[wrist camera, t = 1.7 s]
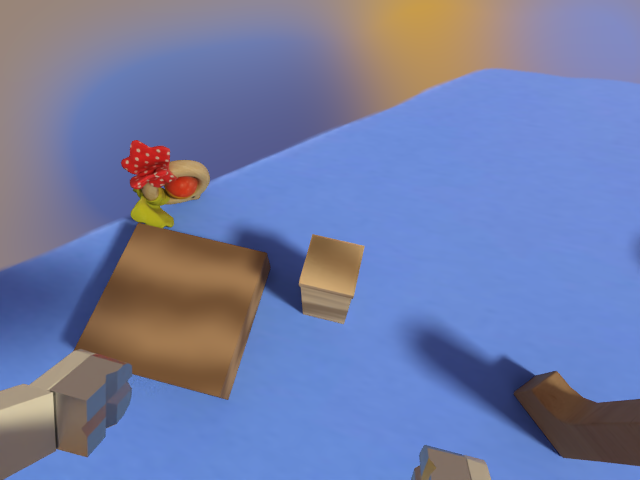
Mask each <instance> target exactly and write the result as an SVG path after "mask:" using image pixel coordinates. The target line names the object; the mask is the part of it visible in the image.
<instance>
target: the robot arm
mask: <svg viewBox="0 0 640 480" xmlns="http://www.w3.org/2000/svg"><path fill="white" fill-rule="evenodd" d="M131 376H132V365H130V364H129V363H126V362H123V361H120V360H117V359H113V358H110V357H107V356H103V355H100V354H95V353H92V352H89V351H86V350H83V349H79V350H75V351H73V352H72V353H71V354H69V355H68V356H67V357H65V358H64V359H63V360H61V361H60V362H59V363H57V364H56V365H55V366H54V367H52V368H51V369H50V370H48V371H47V372H46V373H44V374H43V375H42V376H40V377H39V378H38V379H36V380H35V381H34V382H33V383H31V384H30V385H26V384H22V385H18V386H15V387H12V388H9V389H5V390H2V391H0V480H3V479H5V478H7V477H9V476H11V475H12V474H14V473H16V472H18V471H20V470H22V469H23V468H25V467H27V466H29V465H31V464H33V463H35V462H36V461H38V460H40V459H42V458H44V457H46V456H47V455H49V454H51V453H53V452H55V451H56V449H59V450H62V451H66V452H70V453H74V454H77V455H81V456H85V457H88V456H89V455H90V454H91V453H92V452H93V450H94V449H95V448H96V447H97V446H98V445H99V444H100V442H101V441H102V440H103V439H104V438H105V435H106V428H108V427H110V426H112V425H115V424H117V423H118V421H119V420H120V419H121V418H122V417H123V415H124V414H125V412H126V410H127V408H128V406H129V404H130V400H131V395H132V388H131V387H130V385H129V383H128V382H127V381H128V380H129V378H130V377H131ZM419 459H420V466H418V467H416V468H415V469H414V472H413V475H412V478H411V480H491V478H490V474H489V471H488V467H487V464H486V463H485V461H484V460H481V459H478V458H474V457H470V456H466V455H462V454H458V453H454V452H450V451H447V450H443V449H439V448H435V447H431V446H428V445H424V446H423V448H422V450H421V452H420V455H419Z"/></svg>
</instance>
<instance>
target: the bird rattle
mask: <svg viewBox="0 0 640 480" xmlns="http://www.w3.org/2000/svg"><path fill="white" fill-rule="evenodd" d="M121 164H122V167H123V168H124V169H125V170H127V171H128V172H130V173H132V174H136V175H137V176H135V177H133V178H131V180H130V185H131V187H132V188H134V189H133V191H134V192H136V193H137V195H138V196H139V197H140V200H139V201H138V202H137V204H136V205H135V207H134V208H133V209H132V211H131V217H132V219H134V220H135V221H137V222H141V223H145V224H146V225H150V226H154V227H159V228H163V227H165V226H168V227H173V225H174V219H173V217H171V216H170V215H169V214H168V213H166V212H165V211H163V210H162V209H161V208H160V206H162V205H164V204H177V203H182V202H186V201H189V200H196V199H199V198H200V195H201V193H203V192H204V191H205V190H206V188H207V186H208V184H209V182H210V176H209V173H208V170H207V169H206V167H205V166H204V165H202V164H201V163H198V162H196V161H191V160H177V161H172V162H170V149H169V148H166V147H164V146H156V147H148V146H147V145H145V144H143V143H142V142H140V141H138V140H134V141H132V143H131V146H130V156H129V157H127V158H125V159H123V160H122V162H121ZM161 186H164V187H165V189H163V188H161ZM141 188H142V189H141Z"/></svg>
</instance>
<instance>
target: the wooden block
mask: <svg viewBox="0 0 640 480" xmlns="http://www.w3.org/2000/svg"><path fill="white" fill-rule="evenodd" d="M514 395H515V397H516V398H517V399H518V400H519V402H520V403H521V404H522V406H523V407H524V408H525V410H526V411H527V412H528V413H529V415H530V416H531V417H532V419H533V420H534V421H535V423H536V424H537V425H538V427H539V428H540V429H541V430H542V432H543V433H544V434H545V436H546V437H547V438H548V440H549V441H550V442H551V443H552V445H553V446H554V447H555V449H556V450H557V451H558V453H559V454H560V455H561V456H562V457H563V458H571V459H581V460H590V461H600V462H609V463H617V464H626V465H635V466H640V399H635V400H624V401H613V402H602V403H596V402H594V401H591V400H588V399H586V398H583V397H582V396H581V395H579V394H578V393H577V392H576V391H575V390H573V389H572V388H571V387H570V386H569V385H568V384H567V382H566V381H565V380H564V379H563V378H562V376H561V375H560V374H559V373H558V372H557V371H553V372H549V373H545V374H541V375H536V376H535V377H533V378H532V379H531V380H529V381H528V382H527V383H525V384H524V385H523V386H521V387H520V388H519V389H517V390H516V391H515V392H514Z"/></svg>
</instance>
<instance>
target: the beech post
mask: <svg viewBox="0 0 640 480" xmlns="http://www.w3.org/2000/svg"><path fill="white" fill-rule="evenodd" d="M363 250H364V246H362V245H357V244H353V243H349V242H344V241H340V240H335V239H331V238H327V237H322V236H318V235H312V238H311V242H310V245H309V249H308V252H307V256H306V259H305V263H304V266H303V270H302V273H301V277H300V281H299V286H301V296H302V308H303V314H305V315H309V316H313V317H317V318H321V319H325V320H329V321H333V322H337V323H341V324H344V322H345V319H346V315H347V312H348V309H349V305H350V302H351V299H353V297H354V292H355V288H356V283H357V278H358V274H359V269H360V264H361V260H362V255H363Z"/></svg>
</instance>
